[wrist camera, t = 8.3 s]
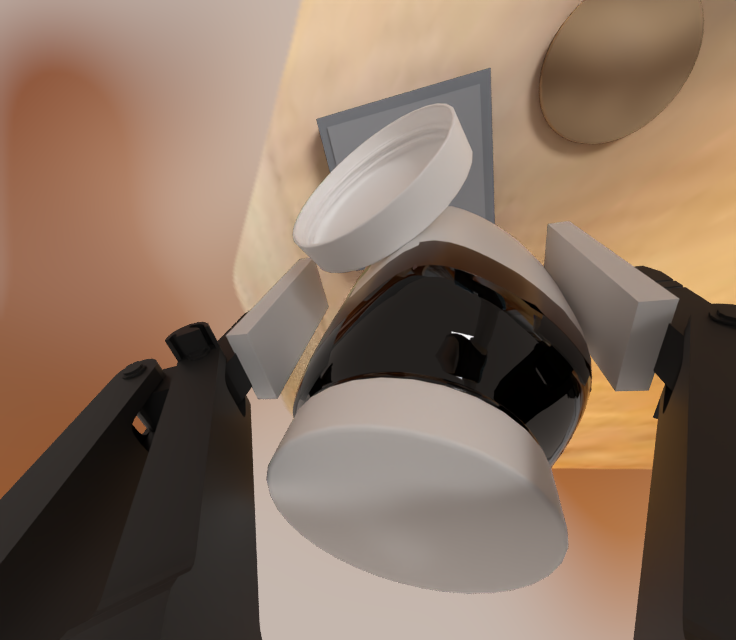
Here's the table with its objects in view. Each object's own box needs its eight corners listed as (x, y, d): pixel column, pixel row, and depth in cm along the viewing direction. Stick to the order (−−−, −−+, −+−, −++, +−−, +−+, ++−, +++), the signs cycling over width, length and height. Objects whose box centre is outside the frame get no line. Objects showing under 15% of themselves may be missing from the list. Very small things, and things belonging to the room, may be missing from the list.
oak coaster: (541, 4, 23) (546, 0, 22) (712, -52, 20) (724, -60, 19) (536, 156, 28) (540, 157, 27) (674, 125, 25) (682, 126, 24)
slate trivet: (324, 119, 29) (315, 119, 27) (485, 72, 25) (490, 67, 23) (360, 262, 36) (355, 271, 33) (491, 240, 32) (495, 249, 30)
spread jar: (432, 382, 20) (409, 621, 11) (279, 283, 19) (97, 455, 9) (608, 230, 13) (991, 516, 4) (388, 58, 12) (124, -168, 2)
